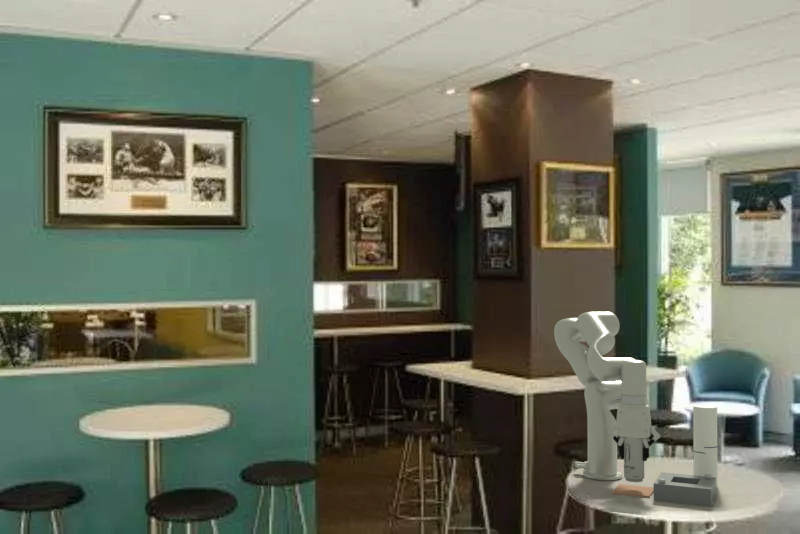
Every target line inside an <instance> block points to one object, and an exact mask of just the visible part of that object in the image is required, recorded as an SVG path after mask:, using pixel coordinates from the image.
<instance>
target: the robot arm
mask: <svg viewBox="0 0 800 534" xmlns="http://www.w3.org/2000/svg"><path fill="white" fill-rule="evenodd" d="M620 326H621V325H620V321H619V318H618V316H617V315H616V314H615V313H613V312H611V311H587V312H583V313H581V314H579V315H578V317H567V318H562V319H560V320H558V321H557V322H556V323H555V325H554V330H553V334H554V340H555V344H556V346H557V348H558V350H559V351H560V353H561V354H562V355H563V357H564V358H565V359H566V360H567V361H568V363H569V365H570V366H571V368H572V370H573V372H574V374H575V375H576V377H577V378H578V381H579V382H580V383H581V384H582V386H583V387H585V388H584V391H583V392H584V401H585V406H586V407H585V408H586V414H587V415H586V416H587V460H586V461H584V462H582V461H575V462H574V467H575V468H576V469H583V471H582V476H583V477H584V478H588V479H591V480H595V481H596V480H597V481H616V480H620V479H622V477H623V473H622V472H621V471H618V455H619V456H620V459H621V460H624V438H628V437H635V438H638V439H642V440H643V443H644V448H643V461H644V462H647V460H648V459H650V447H651V446H652V445H653V444H655V442H657V441H658V440H659V439H660V438H661V434H660V433H659V432H658V431H657V430H656V429H655V428H654V427H653V426H652V418H651V417H652V416H651V411H650V406H649V404H647V364H646V362H645V361H644V360H640V359H635V358H633V357H630V356H629V357H627V356H625V357H623V356H622V357H603V356H604V355H606V354H608V353H610V351H612V349H613V348H614V347H615V343H616V339H615V336H616V335H617V334H618V333H619V331H620ZM582 342H585V343H587V345H588V346H589V347H588V346H587V345H584V344H583V343H582ZM611 410H617V411H616V418H615V416H614V415H613V414H612V412H611ZM652 435H653V437H652V438H651V439H650V440H649V438H650V437H651V436H652Z"/></svg>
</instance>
